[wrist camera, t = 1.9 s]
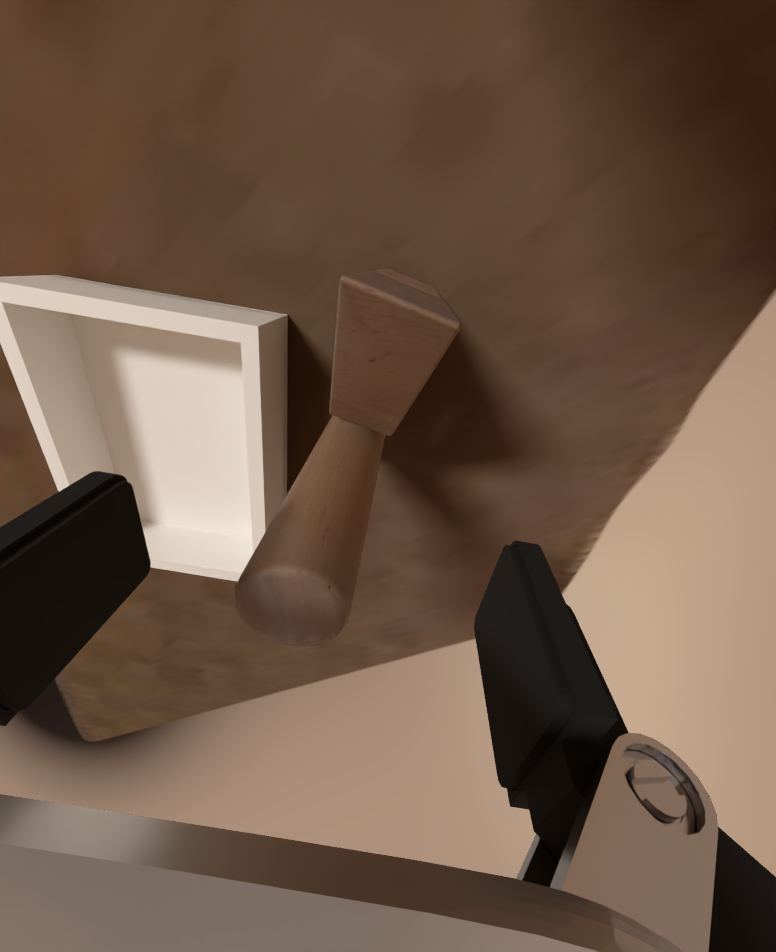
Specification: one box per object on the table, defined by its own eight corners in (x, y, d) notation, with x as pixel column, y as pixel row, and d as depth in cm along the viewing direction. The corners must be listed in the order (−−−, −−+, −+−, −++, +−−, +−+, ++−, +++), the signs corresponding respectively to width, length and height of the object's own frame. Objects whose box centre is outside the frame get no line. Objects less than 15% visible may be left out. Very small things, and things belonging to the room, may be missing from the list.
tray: (57, 274, 23) (-26, 277, 19) (287, 314, 23) (258, 326, 19) (127, 518, 33) (84, 556, 29) (286, 544, 34) (267, 586, 29)
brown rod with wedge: (440, 289, 22) (487, 352, 7) (381, 438, 27) (331, 666, 12) (383, 265, 22) (291, 272, 6) (335, 421, 27) (222, 635, 12)
